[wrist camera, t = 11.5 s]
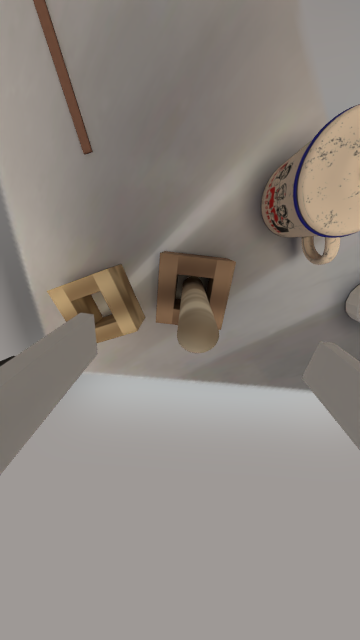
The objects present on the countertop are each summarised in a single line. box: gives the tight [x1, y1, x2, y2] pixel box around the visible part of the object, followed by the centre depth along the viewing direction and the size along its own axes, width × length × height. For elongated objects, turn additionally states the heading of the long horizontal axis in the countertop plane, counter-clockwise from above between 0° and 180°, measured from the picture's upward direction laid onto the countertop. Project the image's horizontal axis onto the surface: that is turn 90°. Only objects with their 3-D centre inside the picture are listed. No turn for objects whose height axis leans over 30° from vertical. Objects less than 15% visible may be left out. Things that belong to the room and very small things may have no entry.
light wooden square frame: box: [47, 264, 145, 343], centre depth 27 cm, size 9×9×5 cm
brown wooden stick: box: [33, 0, 92, 154], centre depth 19 cm, size 14×1×1 cm, turn 12°
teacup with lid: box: [261, 104, 360, 265], centre depth 18 cm, size 12×9×12 cm
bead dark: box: [156, 251, 236, 330], centre depth 25 cm, size 9×9×5 cm
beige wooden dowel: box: [177, 276, 219, 353], centre depth 20 cm, size 3×3×16 cm
